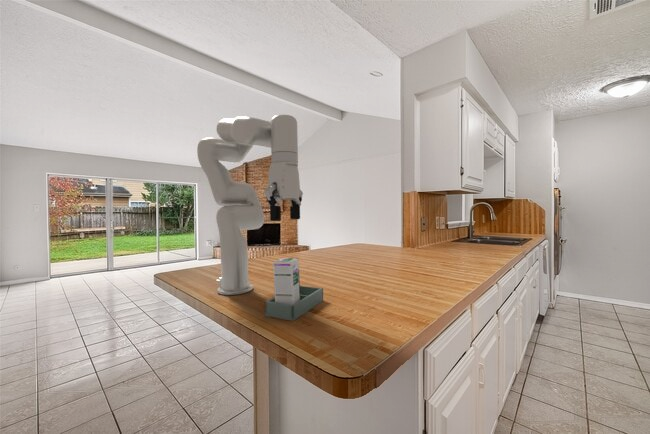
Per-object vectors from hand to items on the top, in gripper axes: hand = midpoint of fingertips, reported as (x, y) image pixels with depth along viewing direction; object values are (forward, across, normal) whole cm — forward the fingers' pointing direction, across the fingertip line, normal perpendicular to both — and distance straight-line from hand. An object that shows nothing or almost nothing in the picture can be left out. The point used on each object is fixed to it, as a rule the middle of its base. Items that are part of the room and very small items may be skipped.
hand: (285, 219), depth 81 cm
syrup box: (+26, +1, +1) cm, 26 cm away
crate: (+26, -3, +1) cm, 27 cm away
